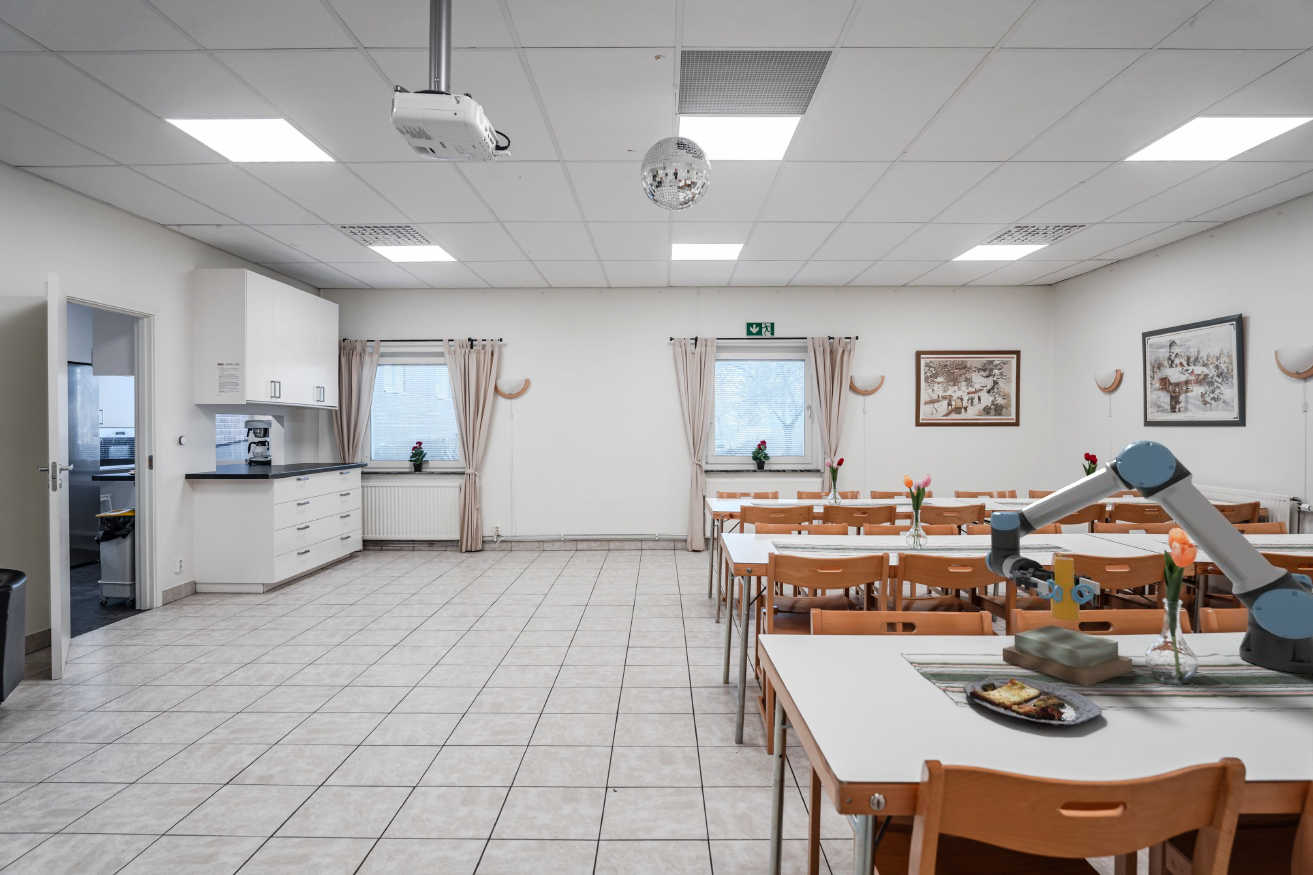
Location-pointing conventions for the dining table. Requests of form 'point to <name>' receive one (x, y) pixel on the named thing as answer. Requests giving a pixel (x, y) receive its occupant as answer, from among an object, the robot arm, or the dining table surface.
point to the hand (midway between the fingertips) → (1072, 588)
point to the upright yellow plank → (1065, 591)
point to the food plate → (1030, 699)
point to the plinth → (1070, 670)
